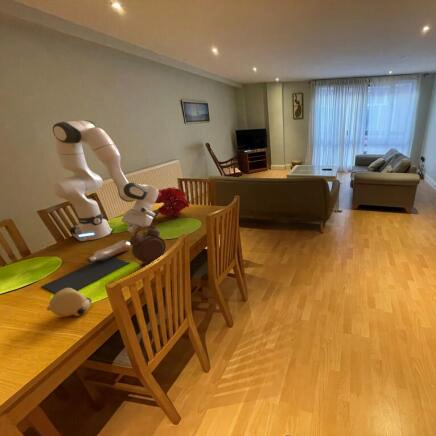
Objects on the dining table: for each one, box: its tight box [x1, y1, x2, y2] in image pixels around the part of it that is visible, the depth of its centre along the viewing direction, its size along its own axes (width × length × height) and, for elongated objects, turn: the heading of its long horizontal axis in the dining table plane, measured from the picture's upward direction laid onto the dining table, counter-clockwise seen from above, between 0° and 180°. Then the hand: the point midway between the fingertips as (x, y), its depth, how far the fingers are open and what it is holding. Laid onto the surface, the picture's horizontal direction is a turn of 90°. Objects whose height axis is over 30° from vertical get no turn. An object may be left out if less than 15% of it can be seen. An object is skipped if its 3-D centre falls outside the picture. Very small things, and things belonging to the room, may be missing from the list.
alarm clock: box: [129, 225, 166, 266], centre depth 122 cm, size 14×7×20 cm, turn 150°
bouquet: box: [151, 186, 190, 220], centre depth 180 cm, size 22×24×30 cm
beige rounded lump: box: [46, 288, 93, 319], centre depth 91 cm, size 10×12×11 cm
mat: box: [41, 257, 129, 295], centre depth 116 cm, size 18×28×1 cm, turn 156°
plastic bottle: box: [86, 239, 132, 264], centre depth 129 cm, size 6×7×20 cm
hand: (129, 231), depth 138 cm, fingers closed
